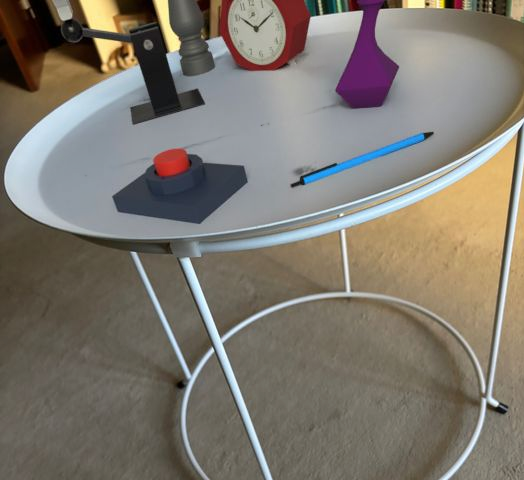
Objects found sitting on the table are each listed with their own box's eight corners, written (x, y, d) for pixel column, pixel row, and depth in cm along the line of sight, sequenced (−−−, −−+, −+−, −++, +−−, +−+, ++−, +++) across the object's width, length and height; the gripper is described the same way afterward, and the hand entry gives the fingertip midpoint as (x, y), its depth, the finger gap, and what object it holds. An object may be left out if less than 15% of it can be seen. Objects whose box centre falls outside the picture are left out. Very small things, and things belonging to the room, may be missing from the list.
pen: (290, 188, 68) (288, 179, 67) (432, 134, 71) (432, 125, 71) (293, 190, 67) (291, 181, 67) (437, 136, 71) (436, 127, 70)
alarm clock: (228, 77, 106) (199, -54, 93) (254, 60, 111) (229, -66, 98) (299, 76, 98) (278, -68, 86) (323, 58, 103) (306, -80, 91)
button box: (117, 212, 72) (105, 182, 70) (168, 175, 78) (158, 145, 76) (199, 224, 66) (189, 191, 63) (248, 182, 71) (240, 150, 69)
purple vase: (400, 89, 84) (393, -60, 73) (391, 110, 79) (382, -47, 68) (349, 94, 87) (334, -49, 76) (337, 114, 82) (320, -36, 71)
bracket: (134, 130, 94) (105, 45, 86) (132, 114, 101) (104, 33, 93) (206, 110, 95) (184, 23, 87) (199, 95, 102) (178, 13, 93)
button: (150, 176, 69) (145, 162, 68) (171, 161, 72) (167, 147, 71) (176, 179, 67) (171, 164, 66) (196, 163, 70) (192, 149, 69)
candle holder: (178, 82, 110) (133, -79, 94) (193, 71, 114) (152, -86, 98) (207, 80, 107) (166, -87, 91) (221, 68, 112) (184, -94, 96)
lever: (60, 42, 87) (60, 18, 85) (61, 38, 90) (61, 14, 88) (156, 56, 91) (157, 33, 89) (154, 51, 93) (156, 29, 92)
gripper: (10, -93, 86) (51, 12, 95) (-10, -89, 70) (41, 37, 79) (52, -105, 86) (89, 1, 95) (42, -102, 70) (87, 24, 79)
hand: (67, 18), depth 87 cm, fingers closed, pressing on lever
